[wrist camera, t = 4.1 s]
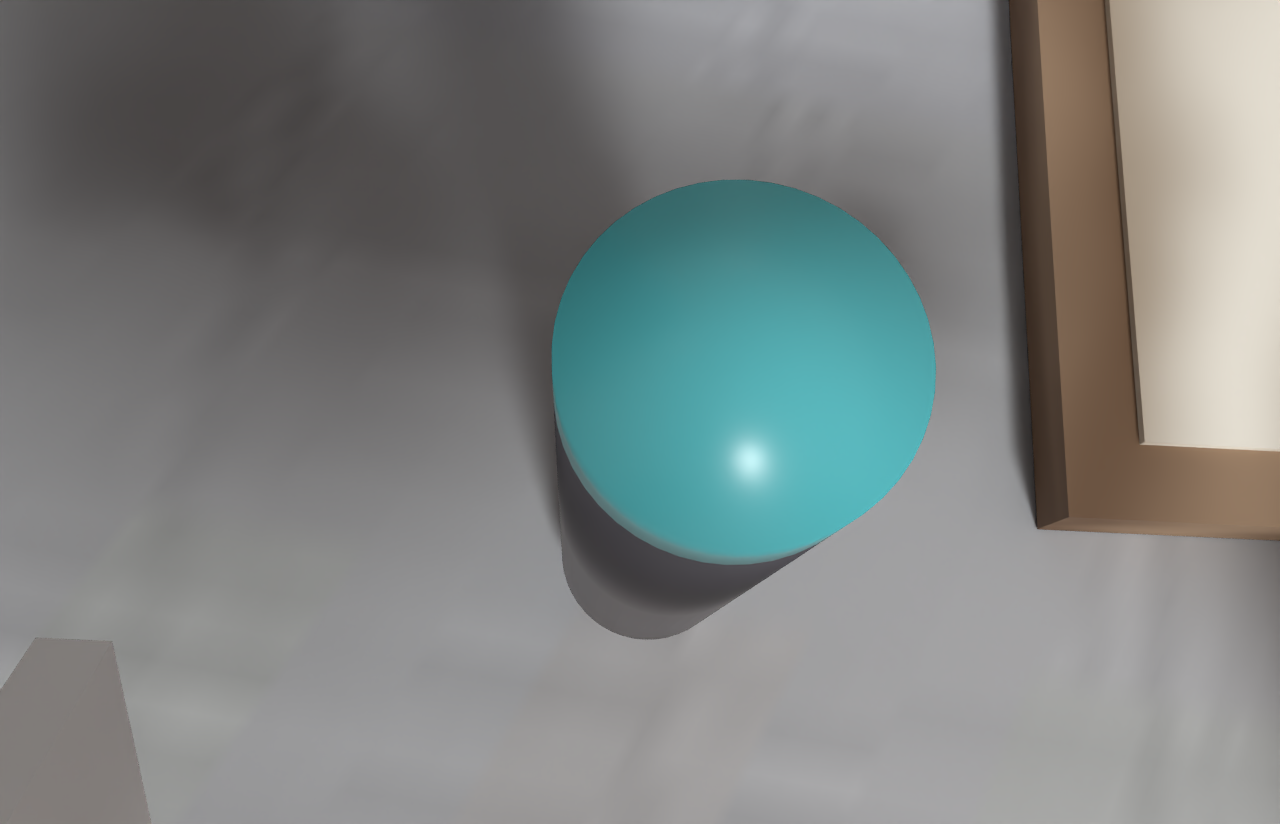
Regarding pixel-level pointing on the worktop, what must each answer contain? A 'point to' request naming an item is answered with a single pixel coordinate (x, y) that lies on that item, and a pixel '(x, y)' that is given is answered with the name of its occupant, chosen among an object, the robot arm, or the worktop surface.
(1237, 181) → the writing board
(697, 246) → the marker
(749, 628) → the worktop surface
